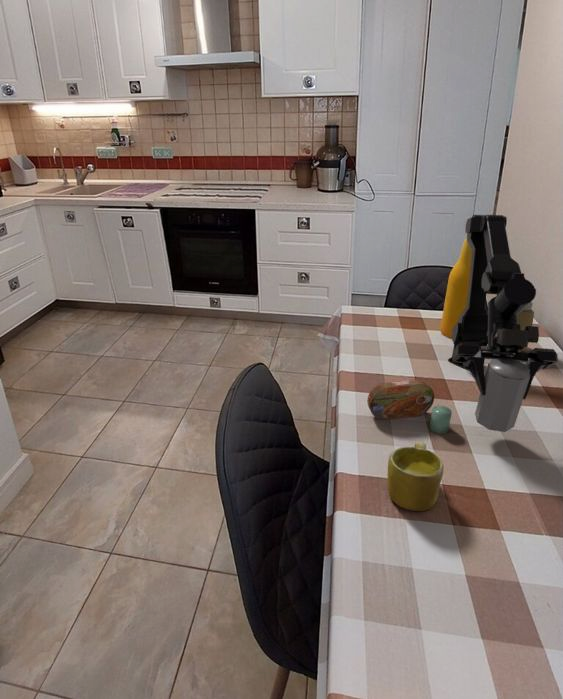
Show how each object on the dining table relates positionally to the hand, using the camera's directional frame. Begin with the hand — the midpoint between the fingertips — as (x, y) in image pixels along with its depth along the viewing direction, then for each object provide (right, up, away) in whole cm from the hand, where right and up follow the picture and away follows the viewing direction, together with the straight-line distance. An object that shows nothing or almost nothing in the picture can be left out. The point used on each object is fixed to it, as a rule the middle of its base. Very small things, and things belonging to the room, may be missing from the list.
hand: (503, 397), depth 94 cm
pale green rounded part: (-10, -8, +10) cm, 16 cm away
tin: (-17, -6, +14) cm, 23 cm away
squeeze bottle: (+23, +10, +43) cm, 49 cm away
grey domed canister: (0, -5, +4) cm, 7 cm away
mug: (-20, -17, -6) cm, 27 cm away
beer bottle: (+9, +14, +52) cm, 54 cm away
